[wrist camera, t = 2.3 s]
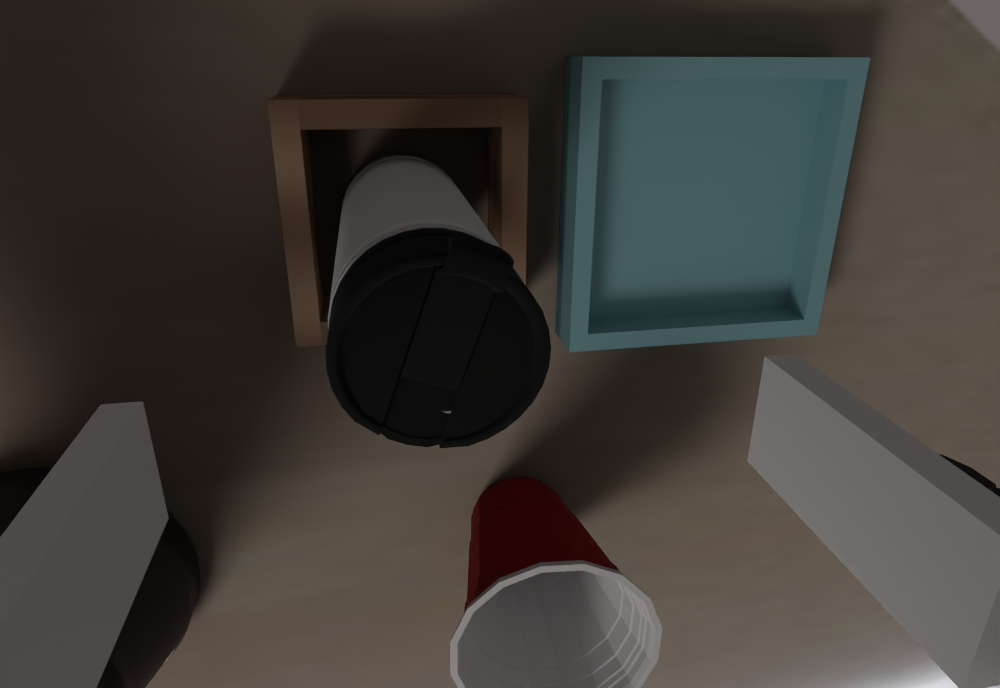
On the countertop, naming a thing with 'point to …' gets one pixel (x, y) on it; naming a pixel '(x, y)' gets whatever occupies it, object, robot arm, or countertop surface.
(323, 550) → the countertop surface
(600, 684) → the plastic cup
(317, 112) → the open wooden box
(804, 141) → the tray
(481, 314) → the travel mug
